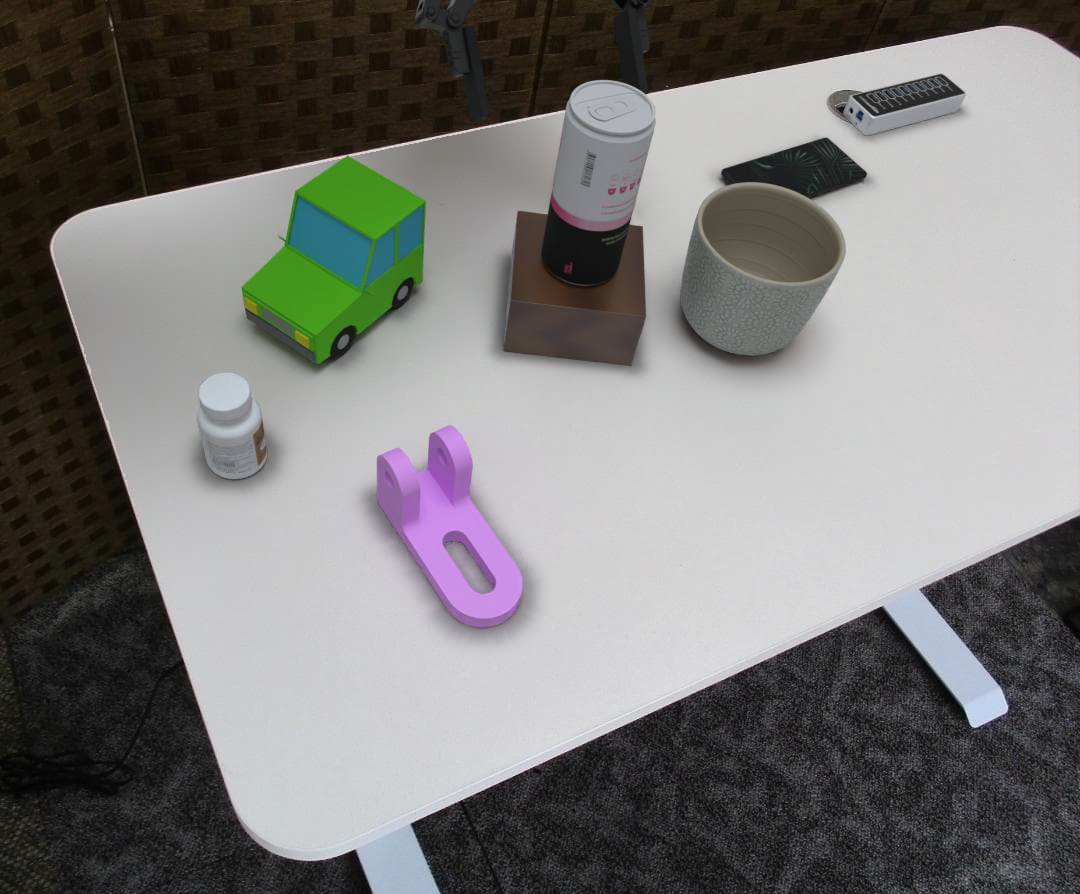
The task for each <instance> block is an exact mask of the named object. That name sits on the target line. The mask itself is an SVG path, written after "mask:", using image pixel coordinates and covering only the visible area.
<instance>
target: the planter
mask: <svg viewBox="0 0 1080 894" xmlns="http://www.w3.org/2000/svg"><path fill="white" fill-rule="evenodd" d="M842 231H843V230H842V229H841V228H840V226H839V224H838V223H837V221H836V220H835V218H834V217H833V216H832V215H831V214H830V213H829V212H828V211H827V210H826V209H824V208H823V207H822V205H820V204H818V203H817V202H816V201H814V200H812V199H811V198H810V197H809V198H807V197H805V196H803V195H801V194H799V193H797V192H795V191H792V190H790V189H787V188H784V187H780V186H776V185H772V184H766V183H756V182H745V183H736V184H728V185H724V186H722V187H720V188H718V189H715V190H714V191H712V192H711V193H710V194H709V195H707V196H706V197H705V198H704V200H703V201H702V202H701V203H700V206H699V209H697V213H696V215H695V219H694V222H693V226H692V230H691V234H690V238H689V242H688V246H687V250H686V251H687V252H686V255H685V259H684V265H683V270H682V275H681V282H680V305H681V309H682V312H683V315H684V317H685V319H686V320H687V321H686V322H688V325H690V327H691V328H692V330H693V331H694V332H695V333H696V334H697V335H698V336H699V337H701V339H703V340H704V341H705V342H707V343H708V344H710V345H711V346H712V347H715V348H717V349H720V350H721V351H724V352H727V353H730V354H734V355H739V356H760V355H761V356H762V355H767V354H771V353H773V352H776V351H779V350H781V349H782V348H785V347H786V346H787V345H789V344H790V343H791V342H792V341H794V340H795V338H797V337H798V336H799V334H800V333H801V331H802V330H804V328H805V327H806V325H807V324H808V322H809V321H810V320H811V318H812V316H813V315H814V313H815V312H816V310H817V309H818V308H819V306H820V304H821V302H822V300H823V299H824V298H825V296H826V294H827V293H828V291H829V289H830V288H831V286H832V284H833V283H834V281H835V279H836V277H837V275H838V273H839V272H840V269H841V267H842V265H843V263H844V260H845V257H846V253H847V245H846V240H845V236H844V234H843V232H842Z"/></svg>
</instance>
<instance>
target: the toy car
mask: <svg viewBox="0 0 1080 894" xmlns="http://www.w3.org/2000/svg"><path fill="white" fill-rule="evenodd" d="M426 211H427V200H426V199H424V198H421V197H420V196H419V195H417V194H415V193H414V192H412V191H410V190H409V189H407V188H405V187H403V186H401V185H400V184H398V183H397V182H394V181H393V180H391V179H389V178H388V177H386V176H384V175H383V174H381V173H379V172H377V171H376V170H374V169H372V168H370V167H369V166H367V165H365V164H363V163H362V162H361V161H359V160H357V159H355V158H353V157H352V156H349V155H346V156H345V157H342V158H341V159H340V160H339V161H337V162H336V163H334V164H333V165H331V166H330V167H328V168H327V169H325V170H324V171H322V172H321V173H319V174H318V175H317V176H314V178H312V179H311V180H309V181H307V182H306V183H305V184H303V185H301V186H300V187H298V188H297V189H295V191H294V195H293V201H292V205H291V211H290V215H289V221H288V225H287V230H286V231H287V232H286V236H285V238H284V237H282V236H281V235H279V234H278V233H277V234H276V235H277V237H278V238H279V239H280V240H282V241H283V242H284V246H283V247H282V248H280V250H279V251H278V252H276V253H275V254H274V255H273V257H271V258H270V259H269V260H268V261H267V262H266V263H265V264H264V265H263V266H262V267H261V268H260V269H259V270H258V271H256V273H254V275H252V276H251V277H250V278H249V279H248V280H247V281H246V282H245V283H244V284H243V285H242V286H241V293H242V301H243V307H244V312H245V317H246V319H247V320H249V321H250V322H251V323H253V324H255V325H256V326H258V327H259V328H261V329H262V330H264V331H266V332H267V333H269V334H270V335H271V336H273V337H274V338H276V339H277V340H279V341H281V343H283V344H285V345H287V346H288V347H289V348H291V349H293V350H294V351H296V352H297V353H299V354H300V355H302V356H304V357H305V358H306V359H308V360H309V361H310V362H313V363H316V364H317V365H320V364H322V362H324V361H326V359H328V358H329V357H331V358H335V359H338V358H340V357H342V356H344V355H345V354H346V353H347V352H348V350H350V348H351V346H352V345H353V343H354V341H355V338H356V335H357V336H358V335H359V334H361V333H362V332H363V331H365V330H366V329H367V328H369V326H371V325H372V324H374V322H376V320H378V319H379V318H380V317H381V316H383V315H384V314H385V313H386V312H387V311H389V310H390V309H391V308H393V309H399V308H400V307H402V306H403V305H404V304H405V303H406V302H407V301H408V300H409V299H410V296H411V294H412V292H413V290H414V287H415V288H417V287H418V286H419V285H421V283H423V278H424V256H425V255H424V254H425V235H426V234H425V233H426V213H427V212H426Z"/></svg>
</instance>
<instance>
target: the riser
mask: <svg viewBox="0 0 1080 894" xmlns="http://www.w3.org/2000/svg"><path fill="white" fill-rule="evenodd" d="M547 216H548V213H541V212H535V211H534V212H532V211H525V210H517V212H516V218H515V219H516V220H515V226H514V227H515V228H514V232H513V233H514V235H513V240H512V249H511V256H510V265H509V274H508V275H509V277H508V289H507V299H506V300H507V301H506V313H505V323H504V325H505V326H504V338H503V349H502V350H503V352H510V353H518V354H519V353H520V354H526V355H536V356H543V357H554V358H562V359H571V360H579V361H588V362H596V363H605V364H614V365H621V366H622V365H624V366H632V365H633V362H634V359H635V355H636V352H637V348H638V345H639V342H640V338H641V335H642V332H643V328H644V325H645V323H646V319H647V302H646V299H647V298H646V275H645V246H644V245H645V243H644V226H643V225H636V224H630V225H629V229H628V233H627V237H626V241H625V244H624V248H623V252H622V256H621V260H620V264H619V267H618V270H617V272H616V273H615V274H614V275H613V276H612V277H611V278H610V279H608V280H607V281H605V282H602V283H599V284H594V285H587V286H583V285H575V284H571V283H568V282H565V281H563V280H561V279H560V278H558V277H557V276H555V275H554V274H553V273H551V272H550V271H549V270H548V268H547V267H546V266H545V264H544V262H543V260H542V255H541V251H542V245H543V239H544V233H545V227H546V222H547Z"/></svg>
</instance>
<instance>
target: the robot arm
mask: <svg viewBox="0 0 1080 894" xmlns="http://www.w3.org/2000/svg"><path fill="white" fill-rule="evenodd" d="M609 1H610V2H611V3H612V5H614V6H615V7H616V8H617V9H618V11H619V12H620V13H618V14H617V15H615V16H614V17H613V18H612V22H613V28H614V35H615V41H616V48H617V54H618V60H619V68H620V74H621V79H622V80H621V81H622V83H625V84H628V85H630V86H633V87H635V88H637V89H638V90H640V91H642V92H643V93H644V94H646V95H648V94H649V93H650V92H649V86H648V80H647V73H646V67H645V66H646V65H645V59H644V54H645V53H647V52H648V51H649V50H650V45H651V41H650V36H649V35H650V34H649V28H648V22H647V13H646V9H647V6H648V5H649V4H651V3H652V2H654V1H655V0H609ZM442 2H443V0H418V5H417V9H416V13H415V17H414V22H415V25H416V26H418V28H419V29H424V30H425V29H431V30H434V31H436V32H437V35H438V36H440V37H441V38H443V43H444V48H445V53H446V58H447V63H448V64H447V65H448V69H449V73H450V74H451V76H452V77H453V79H454V78H462V81H463V87H464V93H465V98H466V103H467V107H468V113H469V118H470V123H471V124H473V123H474V124H475V123H480V122H482V121H484V120H486V119H487V118H489V117H490V116H492V114H491V109H490V103H489V97H488V92H487V91H488V90H487V86H486V81H485V76H484V70H483V63H482V59H481V54H480V48H479V43H478V38H477V32H476V26H475V25H467V26H466V25H465V26H463V23H464V21H465V19H466V17H467V16H468V14H469V12H470V10H471V8H472V6H473V4H474V3H475V0H450V3H449V4H448V6H447V8H442V7H441V6H442Z"/></svg>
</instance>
